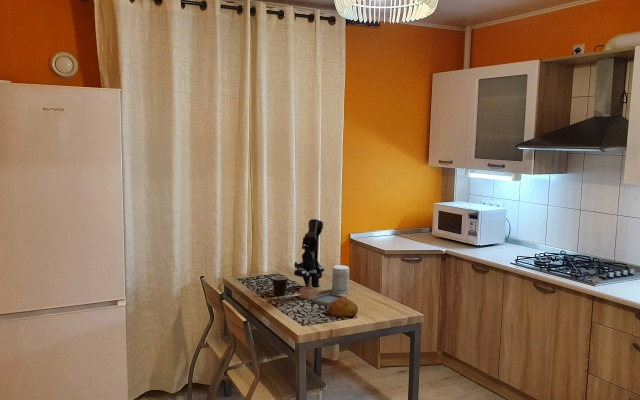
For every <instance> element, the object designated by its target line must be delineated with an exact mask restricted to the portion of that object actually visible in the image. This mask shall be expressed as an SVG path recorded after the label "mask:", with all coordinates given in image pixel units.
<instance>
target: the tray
mask: <svg viewBox="0 0 640 400" xmlns="http://www.w3.org/2000/svg"><path fill="white" fill-rule="evenodd" d="M339 298H345V299H348V298H347V296H346V295H345V296H344V295H341V294H339V293H335V292H334V293H333V292H327V293H322V294H319V295H317V296H316V297H313V298H311V299H310V302H312V303H315V304H319V305H322V306H324V307H325V306H326V307H328V306H329V305H330V303H331V302H333V301H335V300H337V299H339Z"/></svg>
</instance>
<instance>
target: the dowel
mask: <svg viewBox="0 0 640 400" xmlns="http://www.w3.org/2000/svg"><path fill="white" fill-rule="evenodd" d="M305 287H306V286H305ZM311 287H312V277H311V276H310V280H309V284H308V287H306V289H307V290H311Z"/></svg>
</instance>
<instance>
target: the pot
mask: <svg viewBox="0 0 640 400" xmlns="http://www.w3.org/2000/svg"><path fill="white" fill-rule="evenodd" d="M316 296H318V287H317V288H315V287H311V290H307V289H306V286H303V287H300V288H299V297H300V298H303V299H306V300H311V298H313V297H316Z"/></svg>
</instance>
